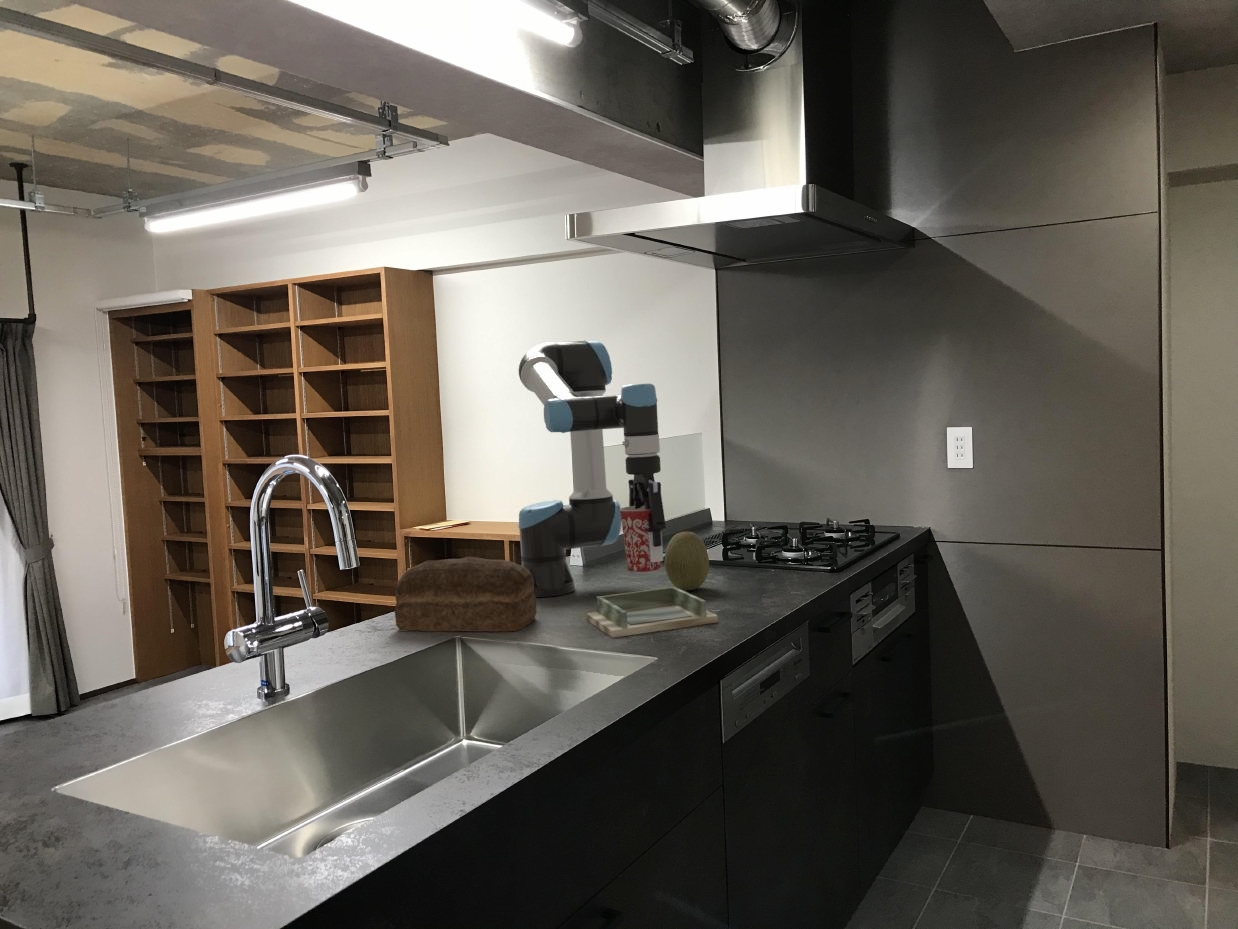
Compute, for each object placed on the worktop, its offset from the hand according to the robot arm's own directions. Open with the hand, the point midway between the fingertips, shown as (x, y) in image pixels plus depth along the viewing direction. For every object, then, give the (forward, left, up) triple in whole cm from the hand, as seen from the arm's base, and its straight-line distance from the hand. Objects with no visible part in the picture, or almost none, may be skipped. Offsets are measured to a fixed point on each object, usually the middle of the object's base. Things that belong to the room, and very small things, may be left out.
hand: (648, 558), depth 207 cm
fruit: (-27, +20, -14) cm, 37 cm away
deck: (-1, 0, -14) cm, 14 cm away
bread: (-22, -37, -15) cm, 45 cm away
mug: (-1, 0, -2) cm, 2 cm away
